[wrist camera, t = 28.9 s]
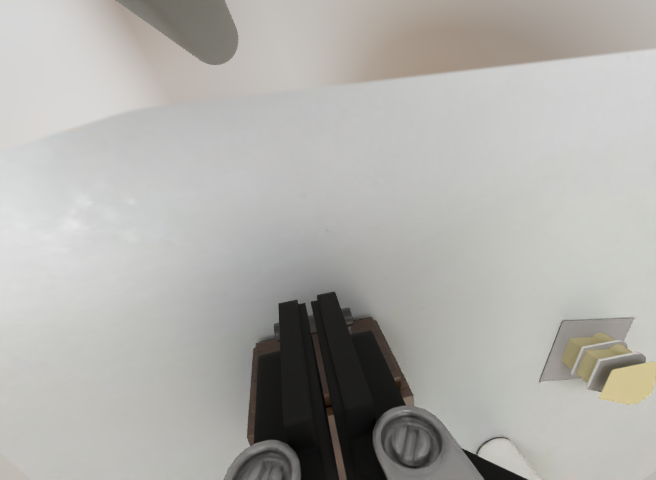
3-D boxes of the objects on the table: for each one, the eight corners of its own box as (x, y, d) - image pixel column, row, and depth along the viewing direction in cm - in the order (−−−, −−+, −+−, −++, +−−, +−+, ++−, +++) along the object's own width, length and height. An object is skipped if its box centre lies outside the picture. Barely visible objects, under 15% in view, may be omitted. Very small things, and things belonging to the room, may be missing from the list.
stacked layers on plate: (539, 381, 41) (577, 419, 36) (562, 320, 38) (607, 353, 33) (606, 376, 43) (651, 411, 38) (633, 317, 39) (687, 348, 34)
